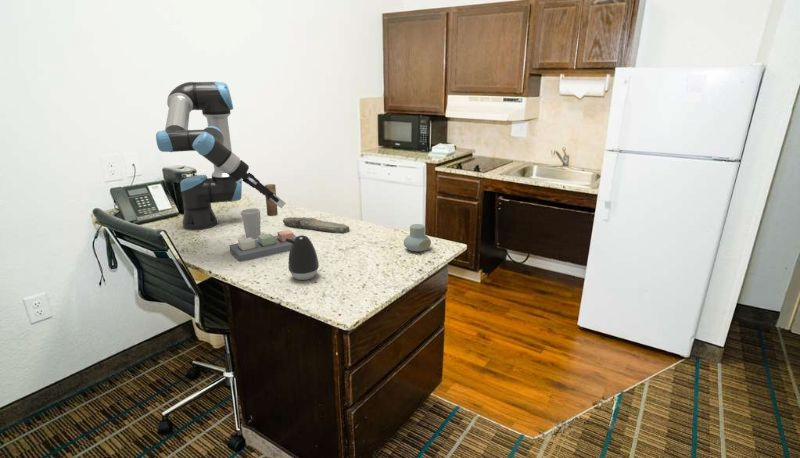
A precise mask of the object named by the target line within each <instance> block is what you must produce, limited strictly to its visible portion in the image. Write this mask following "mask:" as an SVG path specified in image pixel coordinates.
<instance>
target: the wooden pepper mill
mask: <svg viewBox="0 0 800 458" xmlns="http://www.w3.org/2000/svg"><path fill="white" fill-rule="evenodd" d="M264 186H265V187H266V188H267V189H269V190H270V191H271V192H273V193H274V194H275V195H276V196H277V191H276V190H277V188H276V184H274V183H270V184H269V183H268V184H264ZM267 198H268V197H267V196H266V197H265V204H266V206H265V207H266V216H268V217H275V216H276V217H277V216H278V213H279V212H278V206H277V205H276V204H275V203H274V202H272V201H271V200H270V199H269V200H267Z"/></svg>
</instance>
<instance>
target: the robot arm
mask: <svg viewBox="0 0 800 458" xmlns="http://www.w3.org/2000/svg"><path fill="white" fill-rule="evenodd" d="M166 104H167V107H168V111H167V115H166V116H167V118H166V123H165V128H164V130H159V131H157V132H156V133H155V140H156V145H157V148H158V150H159V151H160V152H162V153H163V152H164V153H165V152H166V153H168V152H169V153H176V152H195V151H196V153H198V154H199V155H200V156H202V157H203V158H204V159H205V160H207V161H209V162H210V163H211V164H212V165H213V170H214V171H213V172H212V173H211V177H208V176H207V175H205V174H198V175H193V176H189V177H186V178H184V179H182V180H180V184H179V186H180V192H181V193H180V194H181V197H182V199H181V200H182V205H183V211H184V213H183V218H182V228H183V229H185V230H190V231H197V230H198V231H199V230H205V229H209V228H214V227H215V226H217V225H218V222H219V221H218V217H217V216H216V214H215V213H214V210H213V208H212V204H215V203H217V204H218V203H226V202H227V203H229V202H236V201H240V200H241V199H242V194H243V193H242V188H243V186H242V185H243V184H242V183H243V182H244V183H245V184H246V185H248V186H250V187H251V188H253V189H255V190H257V191H258V192H259V193H260V194H261V195H262V196H264V197H265V198H266V196H267V197H268V198H267V200H269V199H270V200H271V201H272V202H274V203H275V204H276V205H277V207H279V208H280V209H283V208H284V207H285V205H286V204H287V203H286V202H285V201H284V200H283V199H281V198H280V197H279V196H277V194H276V195H275V194H274V193H273V192H271V191H270V190H269V189H267V188H266V187H265V184H263V183H261V182H260V180H259V179H258V178H256V177H255V175H254V174H252V173H251V172H248V171H249V169H250V168H249V167H250V165H248V164H247V163H246V162H244V161H243V160H241V159H240V157H239V156H237V155H236V154H235V153H234V152H233V149H232V142H231V141H232V140H231V135H230V127H229V119H228V118H229V116H230V115H231V111H232V110H233V109H234V105H233V101H232V96H231V93H230V90H229V86H228V84H227V83H225V82H223V81H221V82H220V81H188V82H184V83H181V84H179V85H178V86H176V87H174V88H173V89H172V90H171V91H170V93H169V94H168V96H167V101H166ZM192 111H201V112H202V113H201V114H202V116H204V117H205V118H206V121H207V126H206V127H204V129H189V124H190V123H189V121H190V114H191V112H192Z"/></svg>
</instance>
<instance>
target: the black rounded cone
mask: <svg viewBox="0 0 800 458" xmlns="http://www.w3.org/2000/svg"><path fill="white" fill-rule="evenodd" d="M286 241H287V242H289V243H291V244H292V246H291V249H290V251H289V252H288V253H289V254H288V262H287V263H288V265H287V267H288V271H289V273H290V274H291V276H292V277H293V278H294V279H296V280H299V281H306V280H307V281H308V280H310V279H312V278H313V277H315V276H316V275H317V273H318V269H319V266H320V264H319V258H318V255H317V251H316V249H315V246H314V244H313V242H312V241H311V239H310V238H309V237H308V236H306V235H304V234H303V235H302V234H300V235H298V236H297V237H296V238H295V239H294V240H292V239H288V238H286Z"/></svg>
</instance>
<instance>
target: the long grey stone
mask: <svg viewBox="0 0 800 458" xmlns="http://www.w3.org/2000/svg"><path fill="white" fill-rule="evenodd" d="M282 222H283V224H284V225H285V226H288V227H292V228H295V229H301V230H317V231H319V232H321V231H323V232H328V233H332V234H336V233H337V234H347V233H349V232H350V230H351V229H350V226H348V225H346V224H344V223H337V222H331V221H323V220H320V219H317V218H314V217H307V216H306V217H304V216H302V217H296V216H293V217H291V216H290V217H285V218H283V220H282Z"/></svg>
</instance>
